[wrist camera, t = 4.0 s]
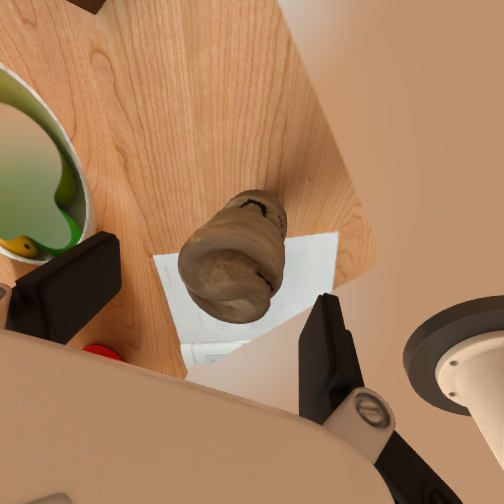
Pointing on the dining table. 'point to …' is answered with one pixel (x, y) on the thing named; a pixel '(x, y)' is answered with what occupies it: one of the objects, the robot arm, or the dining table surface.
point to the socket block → (88, 5)
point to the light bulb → (237, 258)
